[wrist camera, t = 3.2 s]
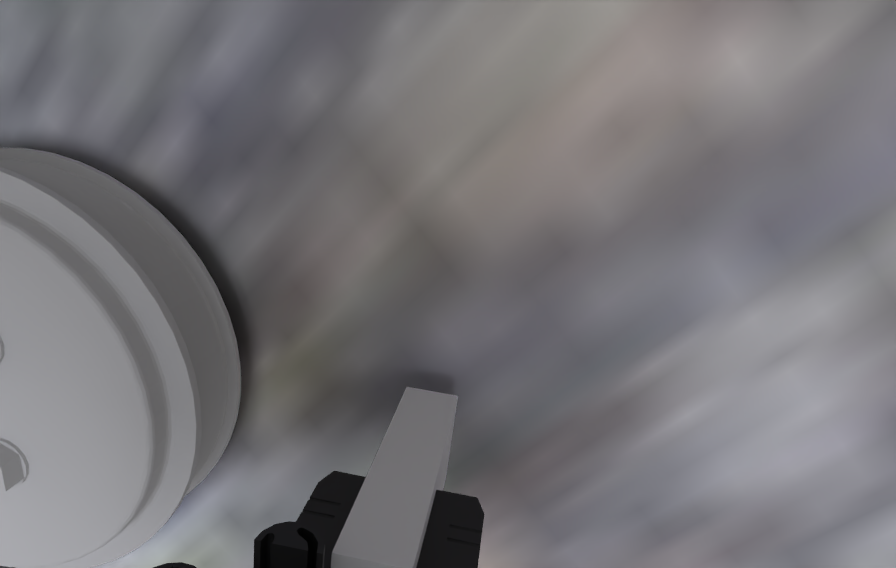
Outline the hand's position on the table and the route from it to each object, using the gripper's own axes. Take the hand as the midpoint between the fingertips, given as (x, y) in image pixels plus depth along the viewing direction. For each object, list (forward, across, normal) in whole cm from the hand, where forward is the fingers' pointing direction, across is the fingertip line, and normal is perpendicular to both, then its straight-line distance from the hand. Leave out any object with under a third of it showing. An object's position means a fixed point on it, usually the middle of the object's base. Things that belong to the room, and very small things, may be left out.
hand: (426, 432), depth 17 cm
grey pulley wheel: (+2, -12, 0) cm, 12 cm away
